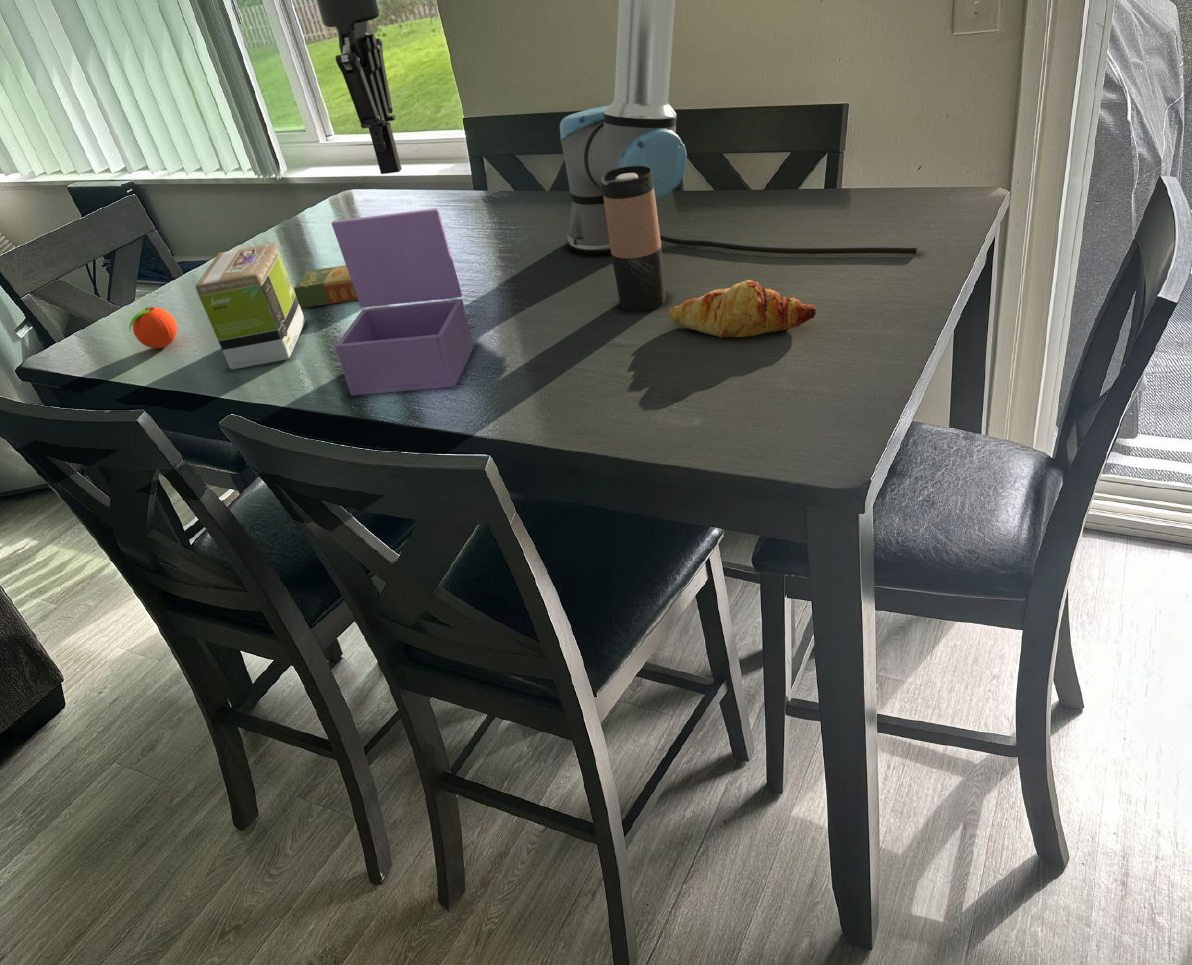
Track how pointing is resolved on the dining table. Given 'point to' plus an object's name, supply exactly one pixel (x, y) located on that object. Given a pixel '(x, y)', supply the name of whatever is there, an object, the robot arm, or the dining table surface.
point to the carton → (325, 287)
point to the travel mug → (634, 237)
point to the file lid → (398, 258)
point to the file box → (406, 347)
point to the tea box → (251, 305)
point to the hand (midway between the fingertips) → (391, 171)
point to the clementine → (154, 327)
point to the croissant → (742, 311)
